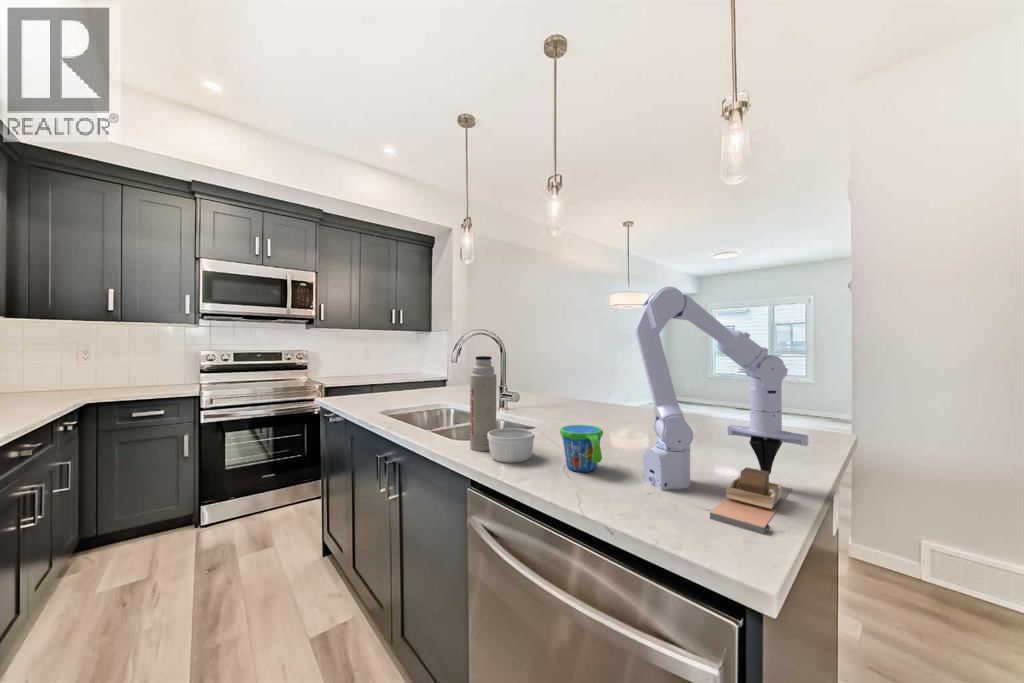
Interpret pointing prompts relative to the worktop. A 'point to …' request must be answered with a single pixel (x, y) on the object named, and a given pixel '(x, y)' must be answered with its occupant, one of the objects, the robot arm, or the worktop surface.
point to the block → (755, 481)
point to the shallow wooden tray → (754, 494)
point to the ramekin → (510, 444)
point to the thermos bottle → (482, 403)
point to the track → (747, 513)
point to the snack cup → (582, 447)
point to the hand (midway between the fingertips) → (766, 473)
